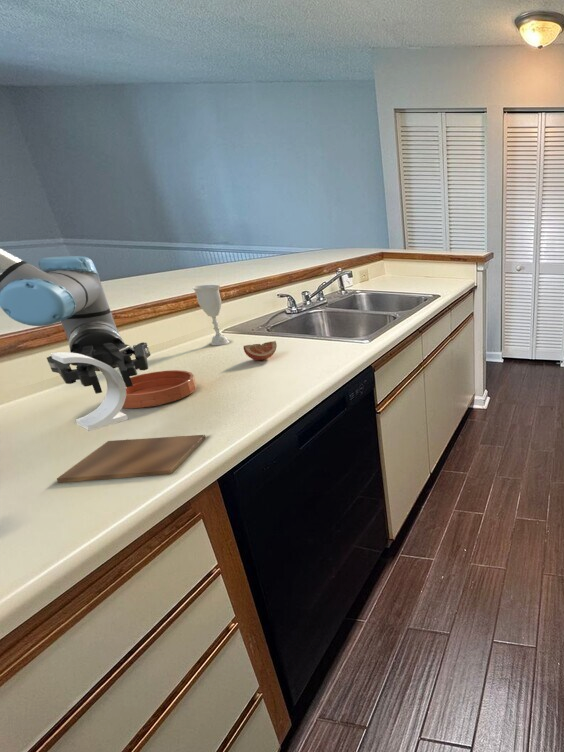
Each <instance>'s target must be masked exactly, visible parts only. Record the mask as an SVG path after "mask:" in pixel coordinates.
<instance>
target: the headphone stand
mask: <svg viewBox="0 0 564 752" xmlns="http://www.w3.org/2000/svg"><path fill="white" fill-rule="evenodd" d="M50 356H51V357H52V359H55V360H57V361H59V362H61V363H64V364H66V363H88V364H92V365H94V366H95V367H97V368H98V369H99V370H100V371H99V372H101V374H102V375H103V377H104V378H105V382H106V393H105V396H104V398H103V400H102V402H101V403H100V404H99V406H97V407H96V408H95V409H94V410H92V411H91V412H89V413H88V414H86V415H84V416H82V417H78V418H76V419H75V422H76V424H77V425H78V426H80V427H81V428H83V429H85V430H87V431H88V432H91V431H94V430H97V429H101V428H104V427H108V426H110V425H114V424H117V423H120V422H121V423H122V422H124V421H127V420H129V418H128V414H126V413H124V412H122V411H121V410H122V409H123V408H124V407H123V405H124V402H125V399H126V386H125V383H124V380H123V378H122V376H121V373H120V372H118V371H117V370H116V368H112V367H111V366H109V365H107V364H106V363H103V362H101V361H98V360H96V359H93V358H91V357H88V356H85V355H82V354H78V353H71V352H70V351H69V352H68V351H65V352H64V351H60V352H59V351H58V352H50Z"/></svg>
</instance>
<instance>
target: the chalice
mask: <svg viewBox="0 0 564 752" xmlns="http://www.w3.org/2000/svg"><path fill="white" fill-rule="evenodd" d="M192 289H193V291H194V293H195V296H196V300H197V303H198V305H199V306H200V309H202V311H203V312H204V313H205V314H206V315H207V317H210V318H211V319H212V322H211V324H213V330H214V332H215V335H213V336H212V338H211V343H210V345H211V346H223V345H227V344H230V341H229V340H228V338H227V337H226V336H225V335H224V334H222V333H221V332H220V329H221V328H220V327H219V321H218V320H217V317H218V316H219V315H220V311H221V308H222V302H223V301H222V298H221V294H220V285H218V284H203V285H202V284H201V285H195V286H192Z"/></svg>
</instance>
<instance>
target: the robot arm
mask: <svg viewBox="0 0 564 752" xmlns="http://www.w3.org/2000/svg"><path fill="white" fill-rule="evenodd" d="M37 264H38V267H39V268H38V267H36V266H35V265H32V264H31V263H29V262H27V261H25V260H24V259H22V258H20V257H18V256H17V255H15V254H13V253H11V252H9V251H7V250H6V249H4V248H3V247H0V309H1V310H2V311H3V312H4V313H5V314H6V315H7V317H9V318H10V319H12V320H13V321H15V322H17V323H20V324H23V325H26V326H32V327H47V326H51V325H54V324H57V323H58V324H59V323H61V326H62V328H63V330H64V333H65V336H66V339H67V341H68V347H69V352H70V353H78V354H82V355H85V356H88V357H91V358H93V359H96V360H98V361H101V362H103V363H106V364H107V365H109V366H111V367H112V368H114V369H116V368H118V370H119V374H120V376H121V377H122V379H123V380H124V382H125V385H126V387H131V386H133V385H132V382H131V379H130V377H133V376H137V375H138V371H137V370H139V371H147V370H148V369H149V363H148V358H150V357H151V353H150V349H149V346H148V343H147V342H143V341H142V342H140V343H137V344H133V345H132V346H131V345H129V344H126V343H125V342H124V340H123V338H122V337H121V335H120V332H119V331H118V328H117V325H116V323H115V322H116V321H115V320H114V316H113V313H112V311H111V308H110V306H109V303H108V300H107V297H106V294H105V290H104V288H103V285H102V282H101V279H100V274H99V272H98V270H97V269H96V265H95V264H94V262H93V260H92V259H91V258H89V257H87V256H80V255H69V256H68V255H67V256H65V255H64V256H49V257H43V258H40V259H39V260H38V262H37ZM132 356H134V359H132V358H131V357H132ZM46 360H47V363H48V365H49V367H50V369H51V372H52V373H57V374H59V375H60V377H61V378H62V380H63V382H64V383H65V384H66V385H72V384H74V383H77V381H78V380H79V381H80V384H81V385H83V387H91V386H92V388H93V390H94V394H96V395H97V394H100V393H103V391H102V387H101V384H100V380H99V378H98V375H97V373H96V372H101V371H100V370H99V369H98V368H97V367H95V366H94V365H92V364H88V363H66V364H64V363H61V362H59V361H57V360H55V359H52V357H51V355H50V356H48V357H47V356H46ZM71 366H74V367H75V368H74V369H72V367H71Z"/></svg>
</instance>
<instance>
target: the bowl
mask: <svg viewBox="0 0 564 752" xmlns="http://www.w3.org/2000/svg"><path fill="white" fill-rule="evenodd" d="M130 379H131V382H132V385H133V386H131V387H126V399H125V402H124V405H123V407H122V408H125V409H139V408H140V409H141V408H151V407H157V406H162V405H165V404H170V403H173V402H175V401H178V400H181V399H183V398H185V397H188V396H189V395H191V394H192V393H194V392H195V391H196V390H197V387H198V385H197V382H196V378H195V375H194V374H193V373H192V371H191V372H190V371H187V370H178V369H174V370H173V369H172V370H160V371H152V372H147V373H142V374H141V373H140V374H137V375H135V376H130ZM124 383H125V382H124ZM125 386H126V385H125Z"/></svg>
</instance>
